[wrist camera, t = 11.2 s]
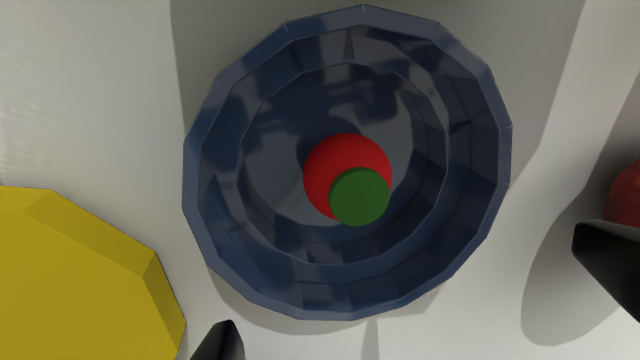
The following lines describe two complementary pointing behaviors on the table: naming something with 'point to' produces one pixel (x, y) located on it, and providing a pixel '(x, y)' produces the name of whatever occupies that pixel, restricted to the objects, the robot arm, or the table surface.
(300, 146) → the bowl
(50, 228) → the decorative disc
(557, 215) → the table surface
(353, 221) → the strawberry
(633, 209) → the fruit
